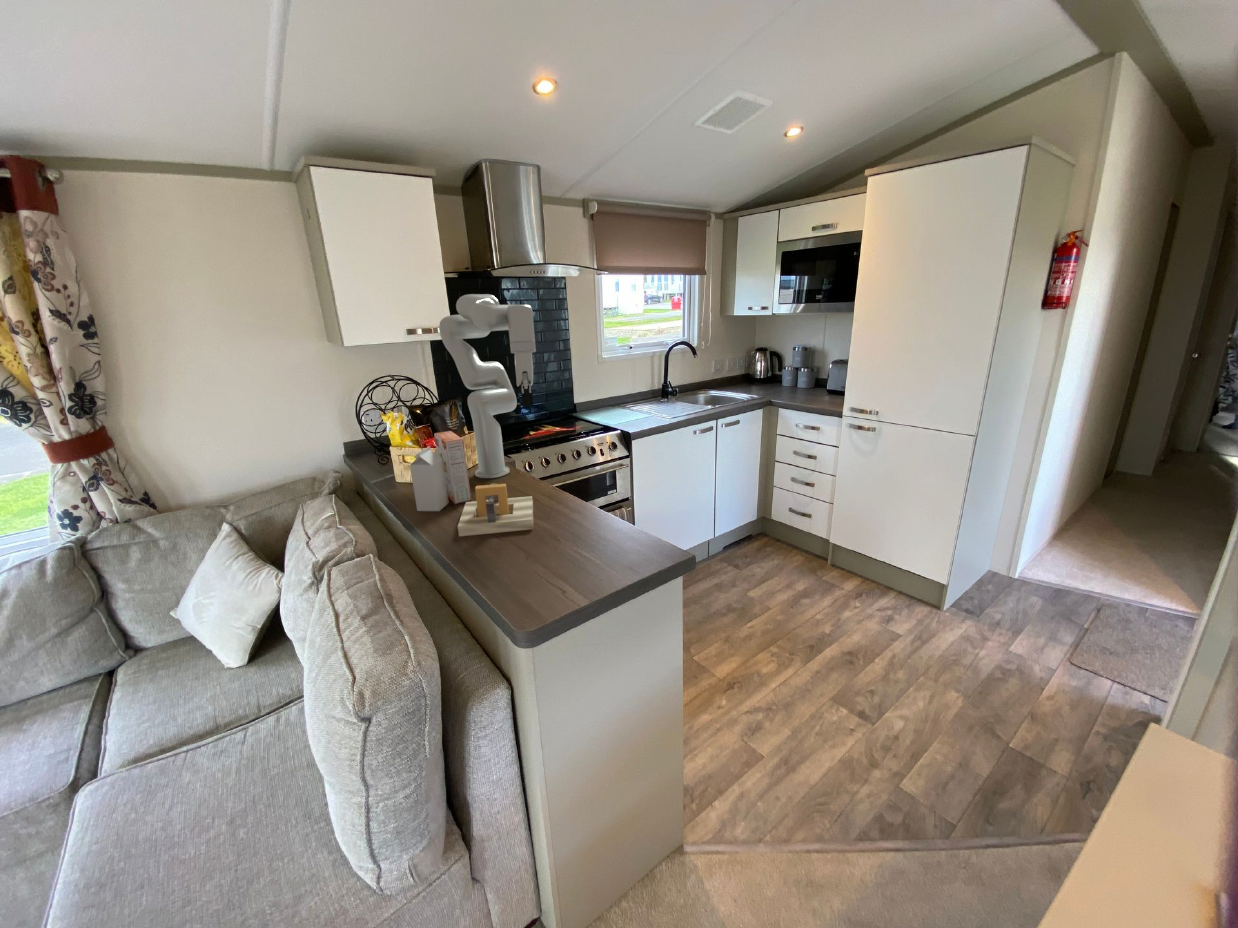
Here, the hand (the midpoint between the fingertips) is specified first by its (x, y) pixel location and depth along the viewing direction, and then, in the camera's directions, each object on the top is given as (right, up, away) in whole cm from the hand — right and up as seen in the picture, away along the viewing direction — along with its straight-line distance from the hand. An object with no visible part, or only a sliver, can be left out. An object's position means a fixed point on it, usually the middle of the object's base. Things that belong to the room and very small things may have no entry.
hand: (528, 403), depth 155 cm
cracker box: (-25, -30, +9) cm, 40 cm away
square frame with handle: (-8, -35, -11) cm, 38 cm away
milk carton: (-30, -33, +1) cm, 44 cm away
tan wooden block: (-8, -34, -11) cm, 37 cm away
